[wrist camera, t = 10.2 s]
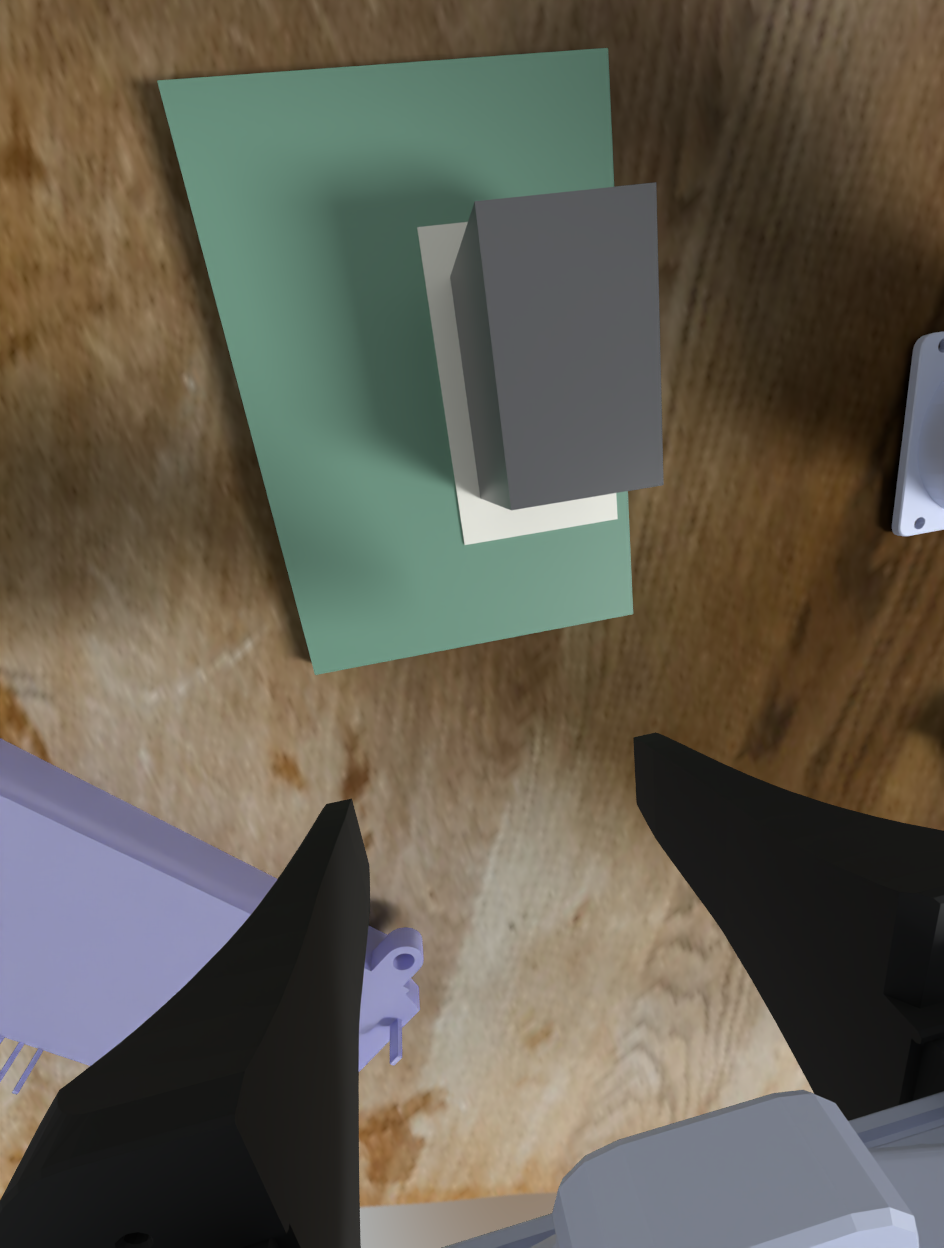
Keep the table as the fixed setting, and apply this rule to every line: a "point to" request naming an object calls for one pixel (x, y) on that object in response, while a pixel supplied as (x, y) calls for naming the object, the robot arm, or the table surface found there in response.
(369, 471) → the header board
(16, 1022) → the computer part
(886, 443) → the table surface
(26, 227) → the table surface
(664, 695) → the table surface
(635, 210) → the block
